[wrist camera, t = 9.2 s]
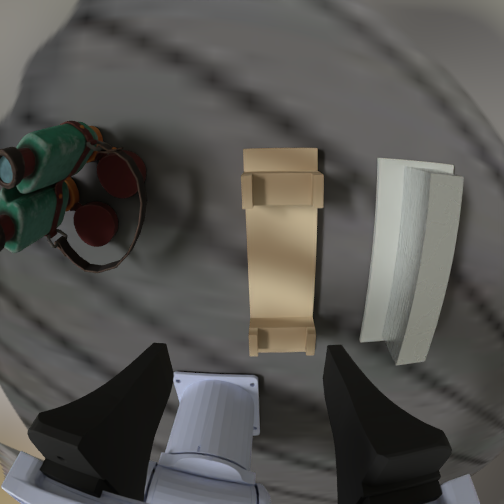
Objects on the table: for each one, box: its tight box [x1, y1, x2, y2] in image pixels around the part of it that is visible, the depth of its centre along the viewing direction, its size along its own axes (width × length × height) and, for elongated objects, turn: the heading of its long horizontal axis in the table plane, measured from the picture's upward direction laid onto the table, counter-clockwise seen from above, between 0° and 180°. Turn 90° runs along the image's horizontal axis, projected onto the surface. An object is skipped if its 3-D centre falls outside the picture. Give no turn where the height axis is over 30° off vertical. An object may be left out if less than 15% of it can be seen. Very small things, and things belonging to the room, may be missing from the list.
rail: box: [382, 166, 464, 365], centre depth 19 cm, size 14×3×4 cm, turn 2°
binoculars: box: [0, 121, 147, 273], centre depth 16 cm, size 9×11×10 cm
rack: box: [241, 148, 324, 356], centre depth 21 cm, size 16×5×3 cm, turn 2°
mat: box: [359, 158, 454, 342], centre depth 22 cm, size 15×6×1 cm, turn 2°
